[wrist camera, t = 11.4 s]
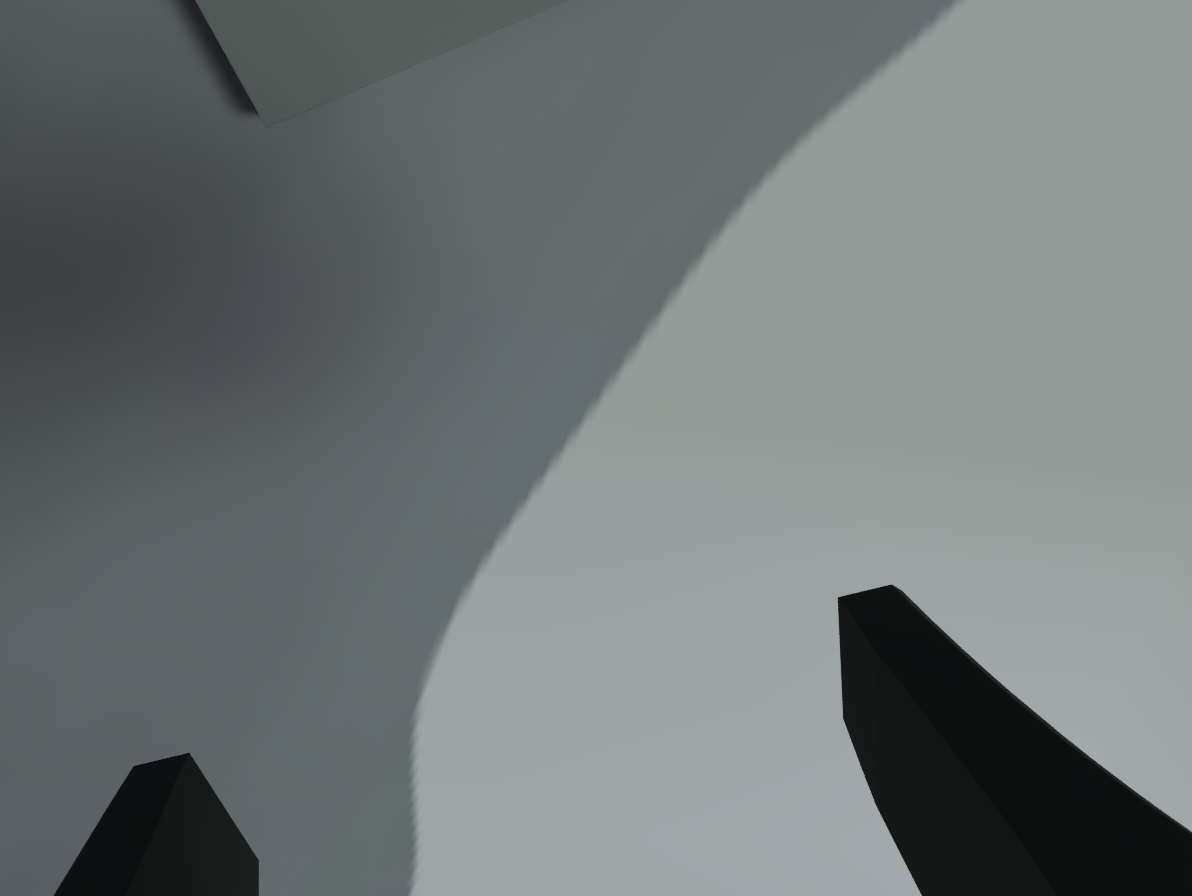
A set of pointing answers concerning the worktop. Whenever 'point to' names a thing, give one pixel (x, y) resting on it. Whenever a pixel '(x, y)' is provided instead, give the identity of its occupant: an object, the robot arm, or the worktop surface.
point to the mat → (343, 42)
